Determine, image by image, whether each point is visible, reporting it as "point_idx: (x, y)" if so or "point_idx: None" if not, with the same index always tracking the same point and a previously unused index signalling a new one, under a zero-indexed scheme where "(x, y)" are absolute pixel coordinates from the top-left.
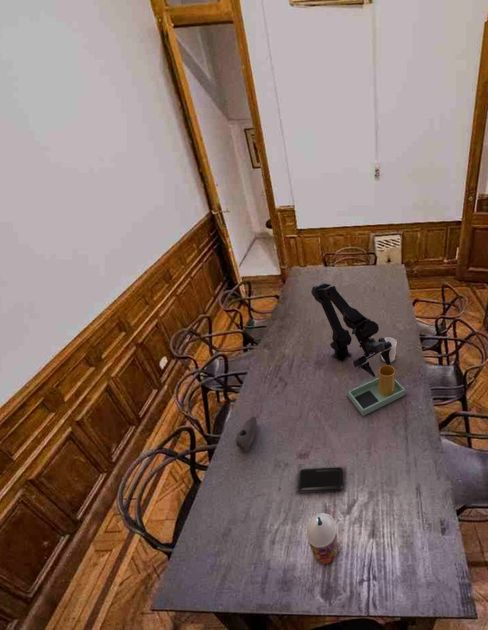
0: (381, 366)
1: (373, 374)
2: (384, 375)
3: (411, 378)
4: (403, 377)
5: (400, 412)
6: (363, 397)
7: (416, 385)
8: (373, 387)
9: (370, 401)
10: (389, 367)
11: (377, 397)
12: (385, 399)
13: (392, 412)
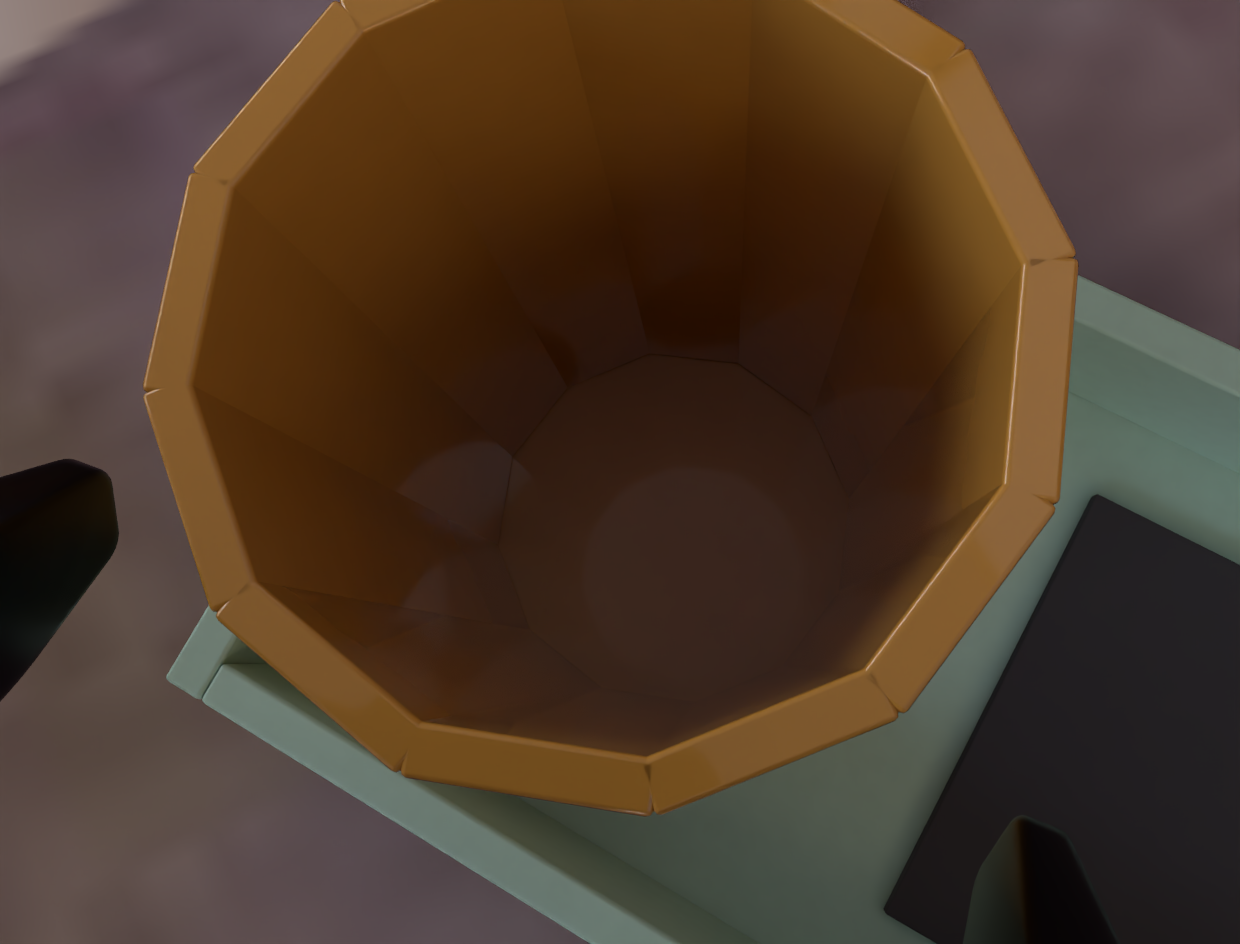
0: (421, 754)
1: (1101, 929)
2: (472, 634)
3: (62, 226)
4: (99, 387)
5: (1059, 12)
6: (1199, 942)
7: (213, 56)
8: (732, 870)
9: (1212, 706)
10: (243, 386)
11: (978, 619)
12: (1126, 303)
13: (1154, 145)
